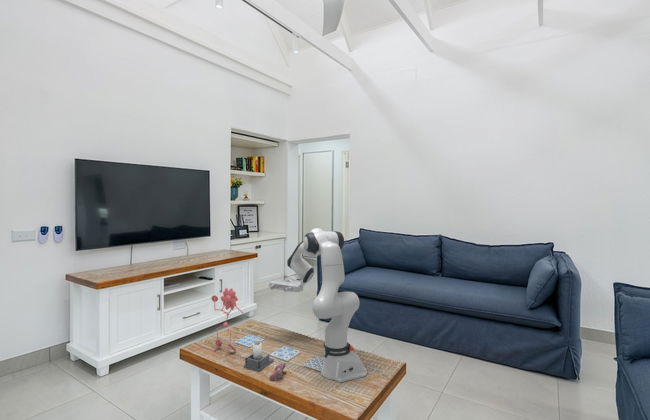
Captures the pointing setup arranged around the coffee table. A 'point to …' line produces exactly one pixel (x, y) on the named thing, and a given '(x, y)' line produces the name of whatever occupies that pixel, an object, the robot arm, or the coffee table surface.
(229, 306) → the pink flower
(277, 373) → the pink irregular piece
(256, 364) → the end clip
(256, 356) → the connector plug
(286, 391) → the coffee table surface
